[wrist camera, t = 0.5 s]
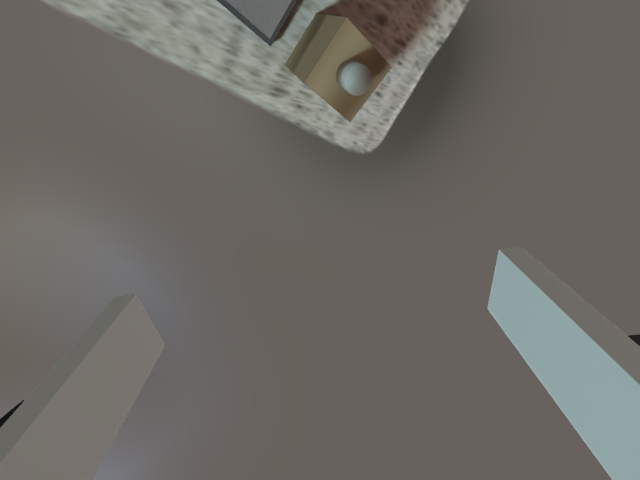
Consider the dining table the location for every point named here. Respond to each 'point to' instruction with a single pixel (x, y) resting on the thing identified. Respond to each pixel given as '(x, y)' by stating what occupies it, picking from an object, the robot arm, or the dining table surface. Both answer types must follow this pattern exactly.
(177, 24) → the dining table surface
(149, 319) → the robot arm
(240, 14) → the press
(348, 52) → the brown bottle
